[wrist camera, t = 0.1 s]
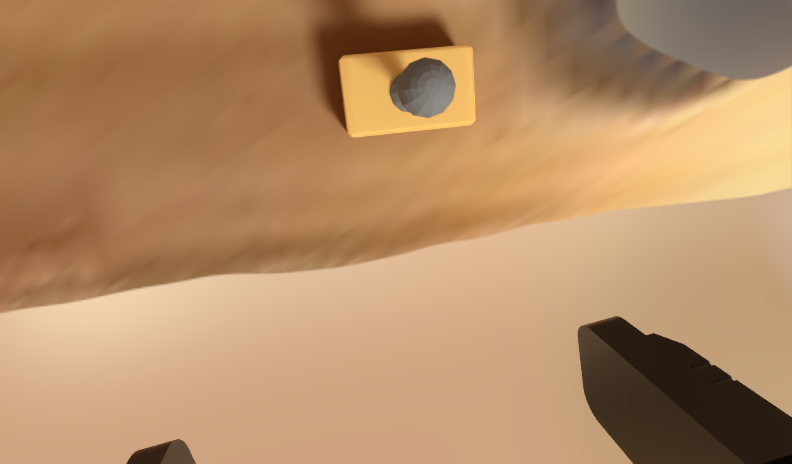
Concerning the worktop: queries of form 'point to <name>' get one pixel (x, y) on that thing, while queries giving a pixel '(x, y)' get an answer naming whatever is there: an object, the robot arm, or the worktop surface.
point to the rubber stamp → (407, 90)
